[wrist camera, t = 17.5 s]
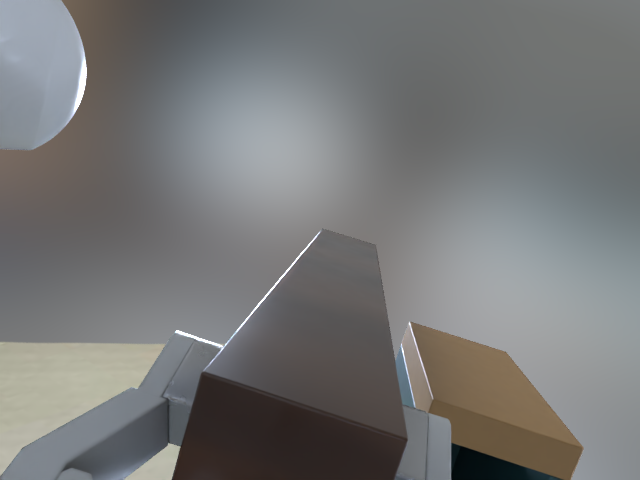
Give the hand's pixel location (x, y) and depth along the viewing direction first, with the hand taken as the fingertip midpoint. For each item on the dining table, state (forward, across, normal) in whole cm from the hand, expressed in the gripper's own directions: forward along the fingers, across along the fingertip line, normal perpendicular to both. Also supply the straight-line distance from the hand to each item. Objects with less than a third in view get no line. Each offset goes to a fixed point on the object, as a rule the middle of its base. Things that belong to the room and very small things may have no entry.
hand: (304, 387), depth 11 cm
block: (+6, 0, +6) cm, 8 cm away
